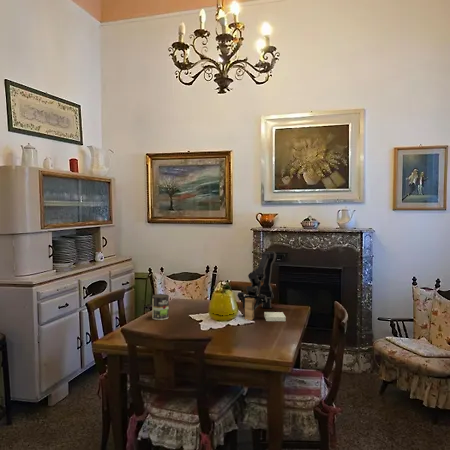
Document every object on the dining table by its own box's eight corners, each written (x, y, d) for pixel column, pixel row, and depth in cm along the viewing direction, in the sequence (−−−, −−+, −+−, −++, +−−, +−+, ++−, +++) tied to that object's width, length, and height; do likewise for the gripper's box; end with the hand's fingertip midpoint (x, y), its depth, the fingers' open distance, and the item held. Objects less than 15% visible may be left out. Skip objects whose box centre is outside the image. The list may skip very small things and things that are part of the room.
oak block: (247, 317, 273) (247, 297, 273) (254, 318, 272) (254, 298, 271) (244, 319, 269) (245, 298, 269) (251, 320, 267) (251, 299, 267)
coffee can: (171, 318, 270) (171, 296, 269) (156, 321, 264) (156, 298, 263) (163, 314, 278) (163, 293, 277) (149, 317, 272) (149, 295, 271)
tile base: (264, 315, 278) (264, 312, 277) (282, 316, 278) (282, 312, 278) (266, 321, 266) (266, 317, 265) (285, 321, 266) (285, 317, 266)
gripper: (238, 279, 277) (231, 300, 267) (266, 282, 269) (259, 303, 259) (242, 289, 284) (236, 309, 275) (269, 292, 276) (264, 313, 267)
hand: (248, 308), depth 269 cm, fingers open, 7 cm apart
